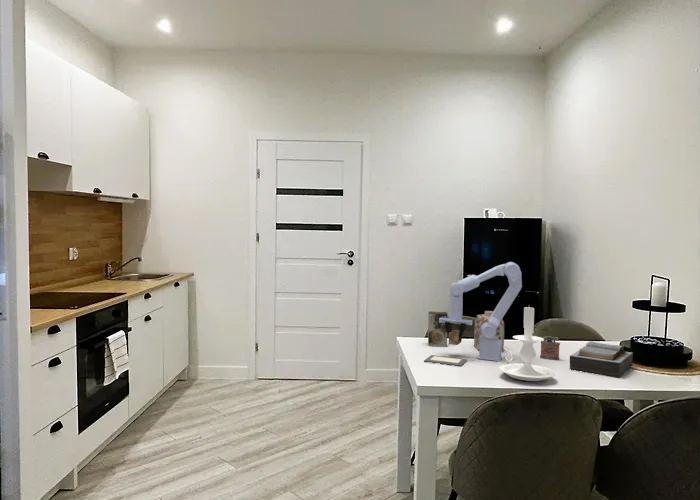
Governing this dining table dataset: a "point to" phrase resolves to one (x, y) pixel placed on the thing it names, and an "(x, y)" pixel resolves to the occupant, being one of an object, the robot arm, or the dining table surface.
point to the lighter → (550, 348)
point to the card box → (454, 337)
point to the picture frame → (446, 360)
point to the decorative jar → (477, 333)
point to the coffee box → (437, 329)
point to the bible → (602, 359)
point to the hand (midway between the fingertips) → (455, 339)
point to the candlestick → (527, 354)
